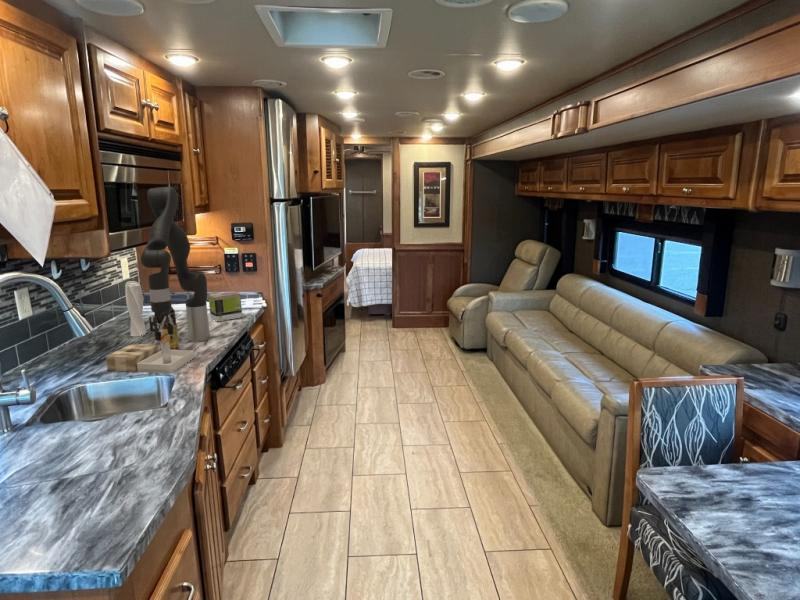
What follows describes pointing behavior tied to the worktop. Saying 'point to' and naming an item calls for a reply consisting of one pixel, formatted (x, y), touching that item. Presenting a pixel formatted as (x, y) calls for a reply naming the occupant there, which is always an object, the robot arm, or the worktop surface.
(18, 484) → the worktop surface
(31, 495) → the worktop surface
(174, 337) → the sauce bottle
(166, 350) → the copper and grey cylinder
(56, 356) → the worktop surface
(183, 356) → the tray
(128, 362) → the block
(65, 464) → the worktop surface
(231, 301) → the tea box
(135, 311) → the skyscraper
